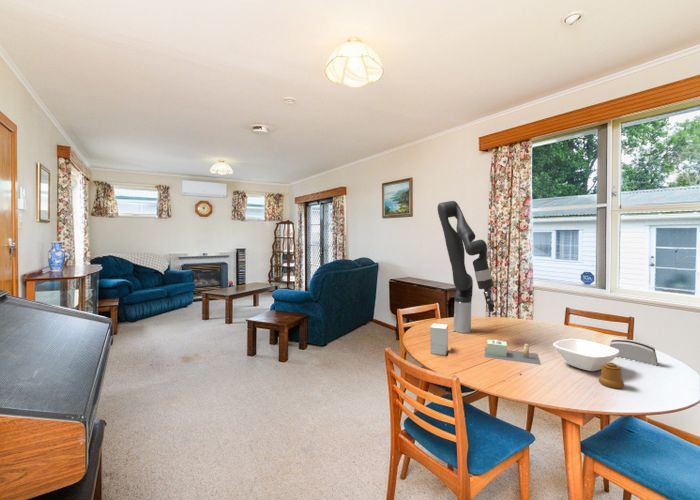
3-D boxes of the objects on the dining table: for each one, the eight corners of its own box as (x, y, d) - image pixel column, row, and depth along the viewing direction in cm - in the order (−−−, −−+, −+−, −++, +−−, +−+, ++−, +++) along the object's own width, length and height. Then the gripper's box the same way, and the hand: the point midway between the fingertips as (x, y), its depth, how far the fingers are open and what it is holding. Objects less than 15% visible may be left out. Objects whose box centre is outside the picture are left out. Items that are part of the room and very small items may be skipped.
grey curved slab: (658, 362, 146) (658, 343, 143) (656, 369, 143) (656, 349, 140) (610, 352, 158) (609, 334, 156) (608, 358, 156) (607, 339, 153)
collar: (486, 354, 152) (487, 343, 152) (487, 350, 158) (487, 339, 157) (506, 356, 149) (506, 345, 149) (506, 352, 154) (506, 341, 154)
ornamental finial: (596, 384, 125) (601, 378, 130) (621, 391, 120) (625, 385, 125) (596, 363, 125) (602, 358, 130) (622, 369, 119) (626, 364, 124)
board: (484, 360, 149) (484, 343, 149) (485, 350, 162) (485, 334, 161) (541, 368, 140) (541, 350, 140) (537, 356, 153) (537, 340, 153)
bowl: (598, 381, 128) (599, 359, 127) (545, 363, 146) (545, 343, 146) (626, 371, 137) (627, 350, 137) (573, 354, 156) (573, 336, 155)
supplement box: (448, 350, 162) (448, 324, 161) (445, 355, 155) (446, 328, 154) (432, 348, 165) (433, 322, 164) (429, 353, 158) (429, 326, 157)
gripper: (477, 278, 181) (485, 307, 180) (475, 282, 168) (483, 314, 167) (492, 275, 177) (500, 305, 177) (491, 279, 164) (499, 311, 164)
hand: (492, 309), depth 172 cm, fingers open, 8 cm apart
